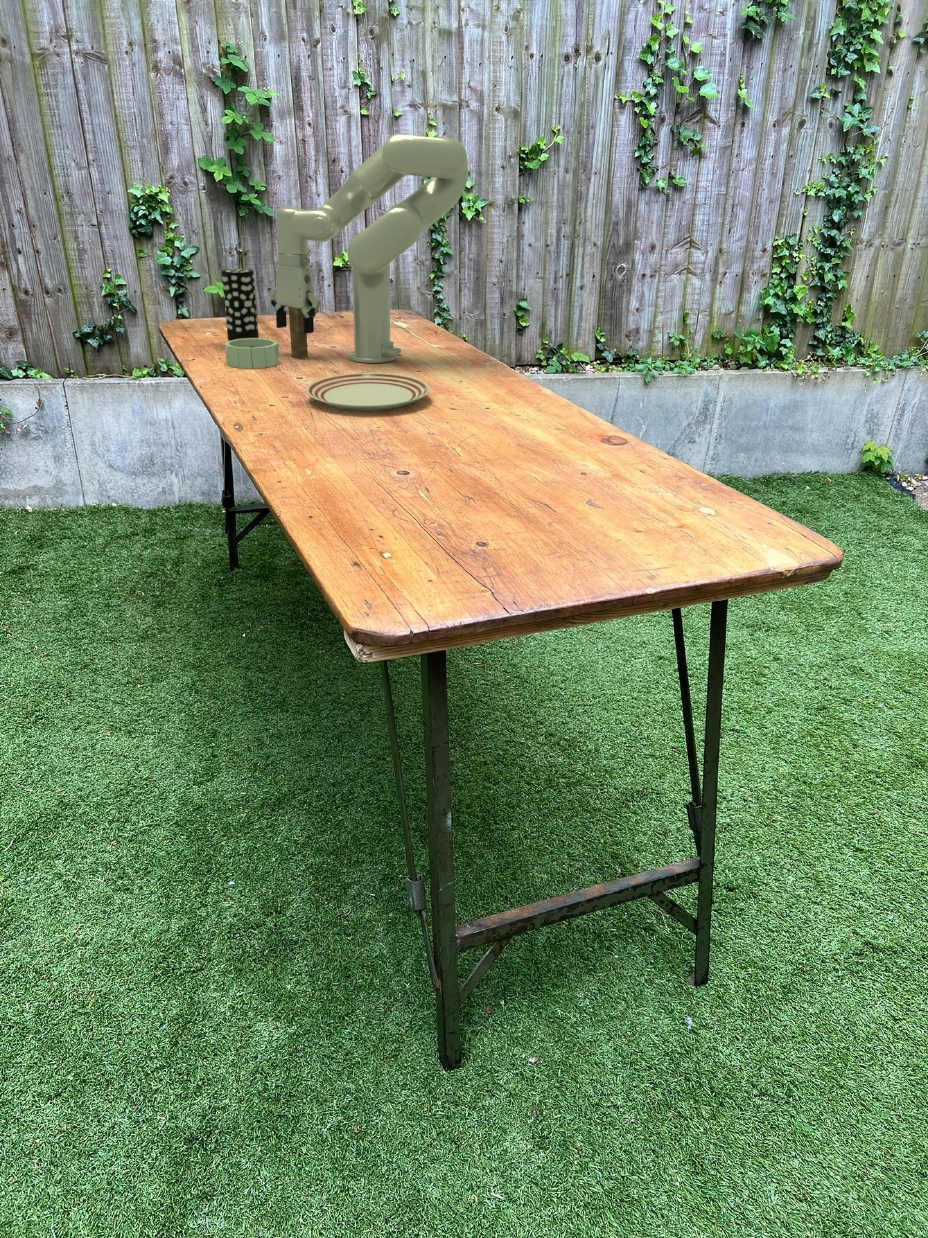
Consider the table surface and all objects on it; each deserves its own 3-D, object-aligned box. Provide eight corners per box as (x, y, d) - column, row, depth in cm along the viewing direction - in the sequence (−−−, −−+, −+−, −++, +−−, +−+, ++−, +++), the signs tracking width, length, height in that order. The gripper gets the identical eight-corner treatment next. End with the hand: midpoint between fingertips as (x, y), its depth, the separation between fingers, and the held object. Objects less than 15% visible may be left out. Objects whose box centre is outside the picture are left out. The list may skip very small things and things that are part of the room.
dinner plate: (412, 421, 190) (412, 406, 188) (288, 412, 194) (287, 396, 193) (441, 390, 214) (442, 376, 212) (330, 382, 218) (330, 368, 217)
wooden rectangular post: (307, 356, 242) (304, 301, 236) (300, 358, 240) (296, 303, 234) (299, 355, 244) (296, 300, 237) (291, 357, 242) (288, 301, 235)
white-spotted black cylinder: (255, 351, 247) (249, 273, 238) (225, 350, 247) (217, 272, 238) (262, 344, 255) (256, 269, 245) (232, 344, 255) (225, 268, 245)
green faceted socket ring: (289, 362, 236) (288, 342, 234) (252, 370, 226) (250, 350, 224) (253, 355, 242) (252, 336, 240) (216, 363, 233) (214, 343, 230)
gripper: (328, 263, 229) (329, 333, 237) (278, 255, 238) (281, 323, 246) (307, 265, 224) (309, 337, 232) (257, 257, 232) (261, 326, 240)
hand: (295, 330), depth 239 cm, fingers open, 9 cm apart
